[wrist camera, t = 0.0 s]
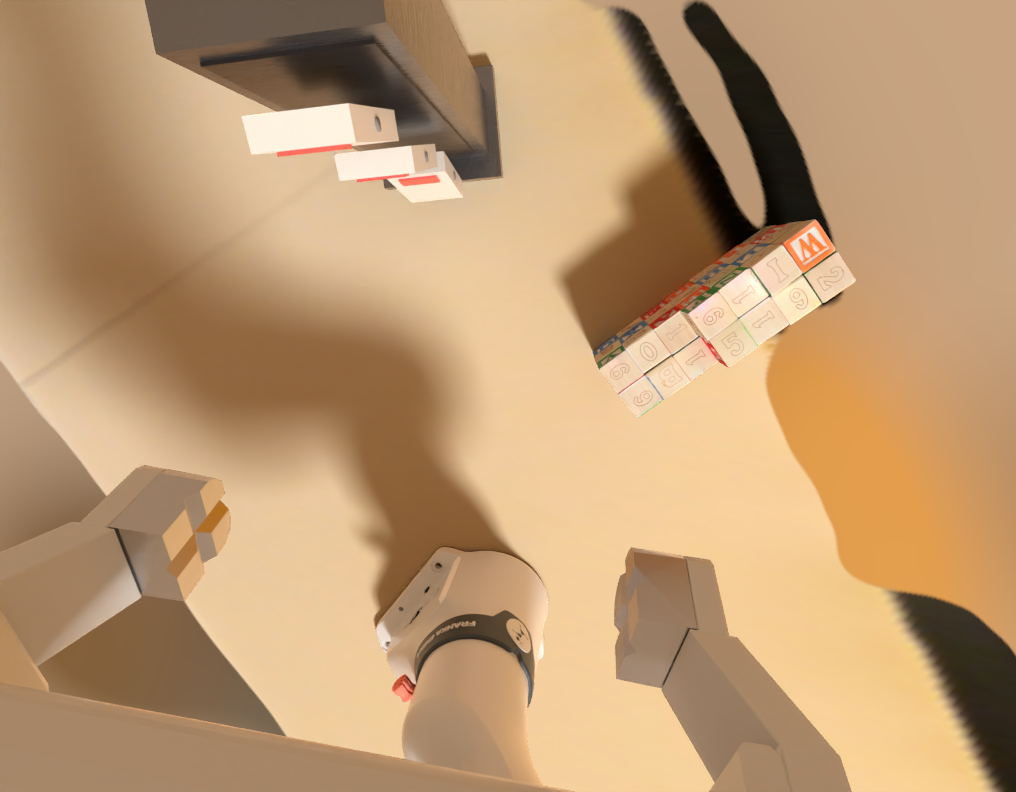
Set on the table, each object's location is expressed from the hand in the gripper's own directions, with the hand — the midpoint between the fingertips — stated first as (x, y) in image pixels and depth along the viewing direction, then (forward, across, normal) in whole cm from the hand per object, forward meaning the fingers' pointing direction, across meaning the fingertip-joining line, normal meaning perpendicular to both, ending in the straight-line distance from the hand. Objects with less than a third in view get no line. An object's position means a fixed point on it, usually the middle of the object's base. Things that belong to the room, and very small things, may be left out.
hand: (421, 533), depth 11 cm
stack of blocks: (+50, +16, -16) cm, 55 cm away
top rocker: (+27, -11, +2) cm, 29 cm away
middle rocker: (+37, -11, -2) cm, 39 cm away
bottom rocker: (+47, -11, -6) cm, 49 cm away
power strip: (+54, -12, -2) cm, 56 cm away
